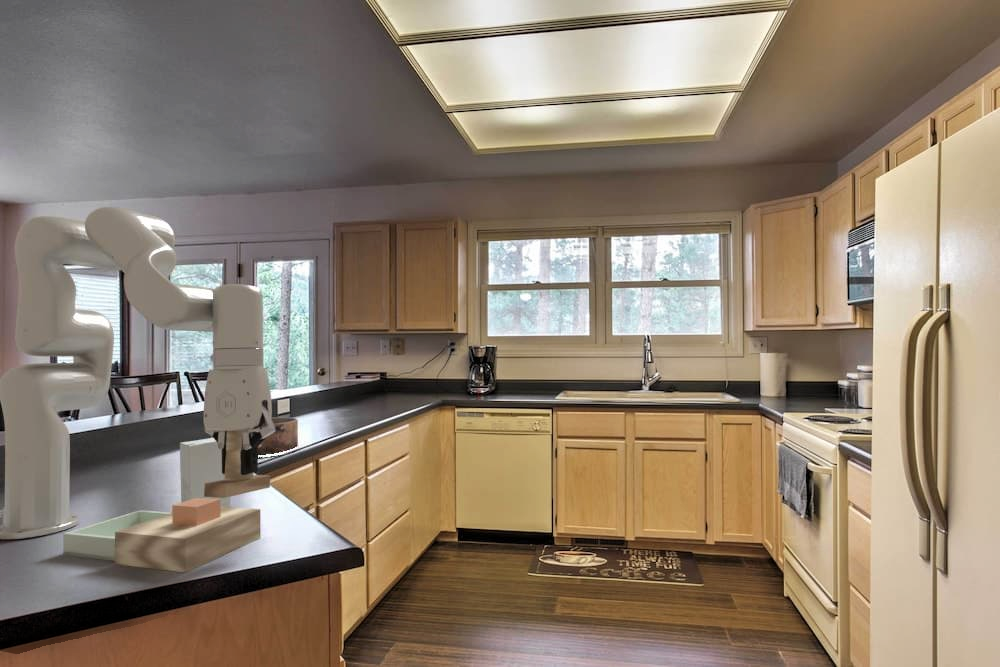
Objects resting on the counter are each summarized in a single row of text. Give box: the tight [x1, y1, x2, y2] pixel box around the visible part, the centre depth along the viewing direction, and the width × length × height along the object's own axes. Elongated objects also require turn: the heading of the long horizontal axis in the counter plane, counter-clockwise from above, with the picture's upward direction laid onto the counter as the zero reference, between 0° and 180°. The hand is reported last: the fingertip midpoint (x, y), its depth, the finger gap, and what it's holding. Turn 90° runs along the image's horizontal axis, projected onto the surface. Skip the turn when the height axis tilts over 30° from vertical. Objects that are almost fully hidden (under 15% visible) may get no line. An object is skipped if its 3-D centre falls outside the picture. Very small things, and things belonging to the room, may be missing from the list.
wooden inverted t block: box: [204, 431, 271, 498], centre depth 90 cm, size 4×10×11 cm, turn 164°
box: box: [62, 509, 172, 562], centre depth 96 cm, size 12×14×4 cm
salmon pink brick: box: [171, 498, 221, 526], centre depth 92 cm, size 5×5×3 cm
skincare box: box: [179, 437, 232, 507], centre depth 117 cm, size 8×6×15 cm
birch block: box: [114, 506, 261, 573], centre depth 93 cm, size 14×16×5 cm
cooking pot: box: [258, 417, 299, 455], centre depth 186 cm, size 30×22×11 cm
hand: (240, 471), depth 90 cm, fingers closed on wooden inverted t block, 3 cm apart
